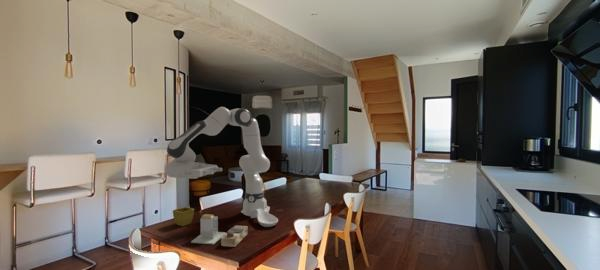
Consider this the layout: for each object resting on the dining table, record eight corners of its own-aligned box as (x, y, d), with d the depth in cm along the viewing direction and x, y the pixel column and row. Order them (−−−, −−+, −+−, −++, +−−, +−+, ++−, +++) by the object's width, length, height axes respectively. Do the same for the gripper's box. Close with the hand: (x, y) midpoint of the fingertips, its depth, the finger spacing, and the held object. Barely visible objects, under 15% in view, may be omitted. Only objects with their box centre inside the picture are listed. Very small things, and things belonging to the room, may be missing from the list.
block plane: (235, 232, 149) (235, 222, 149) (247, 233, 148) (247, 223, 148) (221, 245, 133) (221, 234, 133) (234, 246, 131) (234, 235, 131)
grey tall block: (205, 234, 145) (205, 213, 145) (217, 235, 144) (217, 214, 144) (200, 238, 141) (200, 216, 140) (213, 239, 139) (213, 217, 139)
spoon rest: (281, 226, 160) (281, 214, 160) (264, 231, 153) (264, 218, 153) (261, 216, 179) (261, 205, 179) (245, 219, 172) (245, 208, 171)
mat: (205, 232, 150) (205, 231, 150) (226, 233, 148) (226, 232, 148) (191, 242, 136) (191, 241, 136) (213, 244, 134) (213, 243, 134)
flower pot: (185, 221, 168) (185, 206, 168) (194, 223, 164) (194, 208, 164) (172, 225, 161) (172, 210, 161) (181, 228, 156) (181, 212, 156)
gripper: (182, 167, 139) (207, 167, 137) (203, 162, 159) (225, 162, 157) (182, 179, 139) (208, 180, 137) (203, 173, 160) (225, 173, 157)
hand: (217, 171), depth 147 cm, fingers open, 8 cm apart
